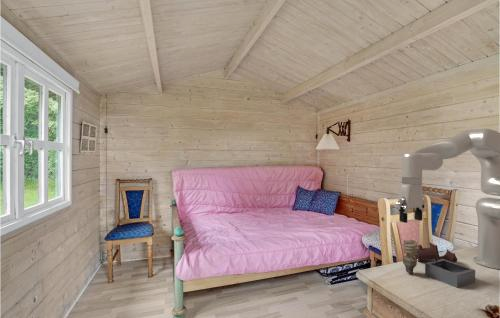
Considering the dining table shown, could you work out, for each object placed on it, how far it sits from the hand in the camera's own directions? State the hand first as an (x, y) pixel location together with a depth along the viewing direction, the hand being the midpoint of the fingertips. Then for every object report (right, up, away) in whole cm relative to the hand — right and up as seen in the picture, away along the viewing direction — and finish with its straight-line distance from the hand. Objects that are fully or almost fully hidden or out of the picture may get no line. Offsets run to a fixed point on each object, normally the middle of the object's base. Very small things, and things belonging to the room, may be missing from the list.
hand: (410, 220), depth 113 cm
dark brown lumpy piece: (+21, -24, +13) cm, 34 cm away
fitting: (+14, -24, -3) cm, 28 cm away
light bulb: (0, -24, 0) cm, 24 cm away
